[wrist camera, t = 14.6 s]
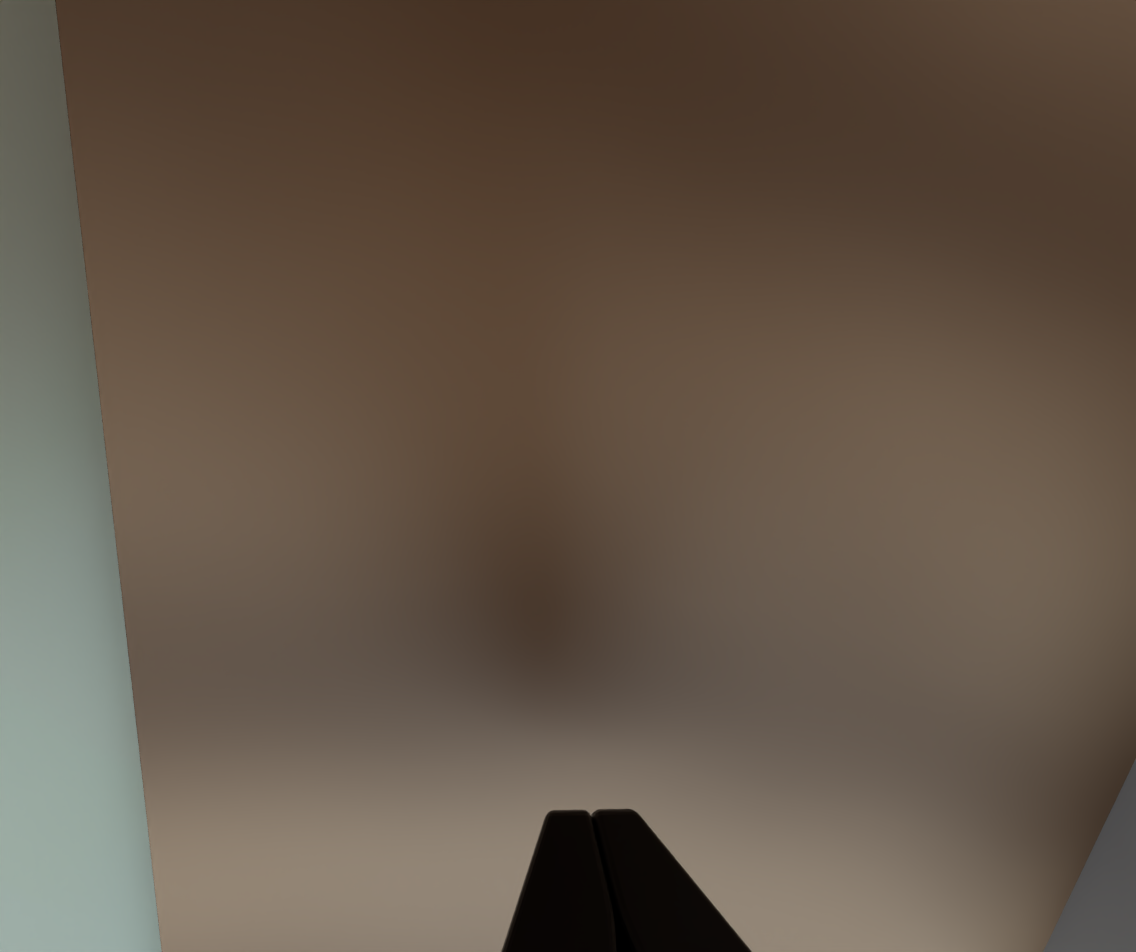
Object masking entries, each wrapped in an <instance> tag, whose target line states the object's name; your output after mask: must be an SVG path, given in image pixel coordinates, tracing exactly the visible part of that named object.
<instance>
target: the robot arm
mask: <svg viewBox="0 0 1136 952" xmlns="http://www.w3.org/2000/svg"><path fill="white" fill-rule="evenodd" d="M501 952H752V951H751V950H750V949H749V947H748V946H747V945H746V944H745V943H744V941H743V940H742V939H741V938H740V937H739V935H738V934H737V933H736V932H735V930H734V929H733V928H732V927H731V926H730V924H729V923H728V922H727V921H726V919H725V918H724V917H723V916H722V915H721V913H720V912H719V911H718V910H717V908H716V907H715V906H714V905H713V904H712V902H711V901H710V900H709V899H708V898H707V896H706V895H705V894H704V893H703V891H702V890H701V889H700V888H699V887H698V885H697V884H696V883H695V882H694V880H693V879H692V878H691V877H690V876H689V874H688V873H687V872H686V871H685V869H684V868H683V867H682V866H681V865H680V863H679V862H678V861H677V860H676V858H675V857H674V856H673V855H672V854H671V852H670V851H669V850H668V849H667V848H666V846H665V845H664V844H663V843H662V841H661V840H660V839H659V838H658V837H657V835H656V834H655V833H654V832H653V830H652V829H651V828H650V827H649V826H648V824H647V823H646V822H645V821H644V819H643V818H642V817H641V816H640V815H639V814H638V813H637V812H636V811H634V810H632V809H598V810H596V811H594V812H593V813H592V815H590V813H589V812H588V811H586V810H552V811H549V812H548V813H547V815H546V816H545V819H544V822H543V825H542V828H541V831H540V834H539V837H538V840H537V843H536V846H535V849H534V852H533V856H532V859H531V862H530V865H529V868H528V871H527V874H526V877H525V880H524V883H523V886H522V889H521V892H520V896H519V899H518V902H517V905H516V908H515V911H514V914H513V917H512V920H511V923H510V926H509V929H508V933H507V936H506V939H505V942H504V945H503V948H502V951H501Z"/></svg>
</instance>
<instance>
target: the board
mask: <svg viewBox="0 0 1136 952" xmlns="http://www.w3.org/2000/svg"><path fill="white" fill-rule="evenodd" d="M55 2H56V11H57V20H58V29H59V38H60V47H61V56H62V65H63V74H64V83H65V91H66V100H67V109H68V118H69V127H70V136H71V145H72V154H73V163H74V172H75V181H76V190H77V199H78V208H79V216H80V225H81V234H82V243H83V252H84V261H85V270H86V279H87V288H88V297H89V306H90V315H91V324H92V333H93V341H94V350H95V359H96V368H97V377H98V386H99V395H100V404H101V413H102V422H103V431H104V440H105V449H106V458H107V466H108V475H109V484H110V493H111V502H112V511H113V520H114V529H115V538H116V547H117V556H118V565H119V574H120V583H121V591H122V600H123V609H124V618H125V627H126V636H127V645H128V654H129V663H130V672H131V681H132V690H133V699H134V707H135V716H136V725H137V734H138V743H139V752H140V761H141V770H142V779H143V788H144V797H145V806H146V815H147V824H148V832H149V841H150V850H151V859H152V868H153V877H154V886H155V895H156V904H157V913H158V922H159V931H160V940H161V949H162V952H501V951H502V948H503V945H504V942H505V939H506V936H507V933H508V929H509V926H510V923H511V920H512V917H513V914H514V911H515V908H516V905H517V902H518V899H519V896H520V892H521V889H522V886H523V883H524V880H525V877H526V874H527V871H528V868H529V865H530V862H531V859H532V856H533V852H534V849H535V846H536V843H537V840H538V837H539V834H540V831H541V828H542V825H543V822H544V819H545V816H546V815H547V813H548V812H549V811H552V810H586V811H588V812H589V813H590V815H592V813H593V812H594V811H596V810H598V809H632V810H634V811H636V812H637V813H638V814H639V815H640V816H641V817H642V818H643V819H644V821H645V822H646V823H647V824H648V826H649V827H650V828H651V829H652V830H653V832H654V833H655V834H656V835H657V837H658V838H659V839H660V840H661V841H662V843H663V844H664V845H665V846H666V848H667V849H668V850H669V851H670V852H671V854H672V855H673V856H674V857H675V858H676V860H677V861H678V862H679V863H680V865H681V866H682V867H683V868H684V869H685V871H686V872H687V873H688V874H689V876H690V877H691V878H692V879H693V880H694V882H695V883H696V884H697V885H698V887H699V888H700V889H701V890H702V891H703V893H704V894H705V895H706V896H707V898H708V899H709V900H710V901H711V902H712V904H713V905H714V906H715V907H716V908H717V910H718V911H719V912H720V913H721V915H722V916H723V917H724V918H725V919H726V921H727V922H728V923H729V924H730V926H731V927H732V928H733V929H734V930H735V932H736V933H737V934H738V935H739V937H740V938H741V939H742V940H743V941H744V943H745V944H746V945H747V946H748V947H749V949H750V950H751V951H752V952H1043V951H1044V949H1045V947H1046V945H1047V943H1048V941H1049V939H1050V937H1051V935H1052V932H1053V930H1054V928H1055V926H1056V924H1057V922H1058V920H1059V918H1060V916H1061V914H1062V912H1063V909H1064V907H1065V905H1066V903H1067V901H1068V899H1069V897H1070V895H1071V893H1072V891H1073V889H1074V887H1075V884H1076V882H1077V880H1078V878H1079V876H1080V874H1081V872H1082V870H1083V868H1084V866H1085V864H1086V861H1087V859H1088V857H1089V855H1090V853H1091V851H1092V849H1093V847H1094V845H1095V843H1096V841H1097V839H1098V836H1099V834H1100V832H1101V830H1102V828H1103V826H1104V824H1105V822H1106V820H1107V818H1108V816H1109V813H1110V811H1111V809H1112V807H1113V805H1114V803H1115V801H1116V799H1117V797H1118V795H1119V793H1120V790H1121V788H1122V786H1123V784H1124V782H1125V780H1126V778H1127V776H1128V774H1129V772H1130V770H1131V768H1132V765H1133V763H1134V761H1135V759H1136V0H55Z"/></svg>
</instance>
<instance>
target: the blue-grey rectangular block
mask: <svg viewBox="0 0 1136 952" xmlns="http://www.w3.org/2000/svg"><path fill="white" fill-rule="evenodd" d="M1043 952H1136V759H1135V761H1134V763H1133V765H1132V768H1131V770H1130V772H1129V774H1128V776H1127V778H1126V780H1125V782H1124V784H1123V786H1122V788H1121V790H1120V793H1119V795H1118V797H1117V799H1116V801H1115V803H1114V805H1113V807H1112V809H1111V811H1110V813H1109V816H1108V818H1107V820H1106V822H1105V824H1104V826H1103V828H1102V830H1101V832H1100V834H1099V836H1098V839H1097V841H1096V843H1095V845H1094V847H1093V849H1092V851H1091V853H1090V855H1089V857H1088V859H1087V861H1086V864H1085V866H1084V868H1083V870H1082V872H1081V874H1080V876H1079V878H1078V880H1077V882H1076V884H1075V887H1074V889H1073V891H1072V893H1071V895H1070V897H1069V899H1068V901H1067V903H1066V905H1065V907H1064V909H1063V912H1062V914H1061V916H1060V918H1059V920H1058V922H1057V924H1056V926H1055V928H1054V930H1053V932H1052V935H1051V937H1050V939H1049V941H1048V943H1047V945H1046V947H1045V949H1044V951H1043Z"/></svg>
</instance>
